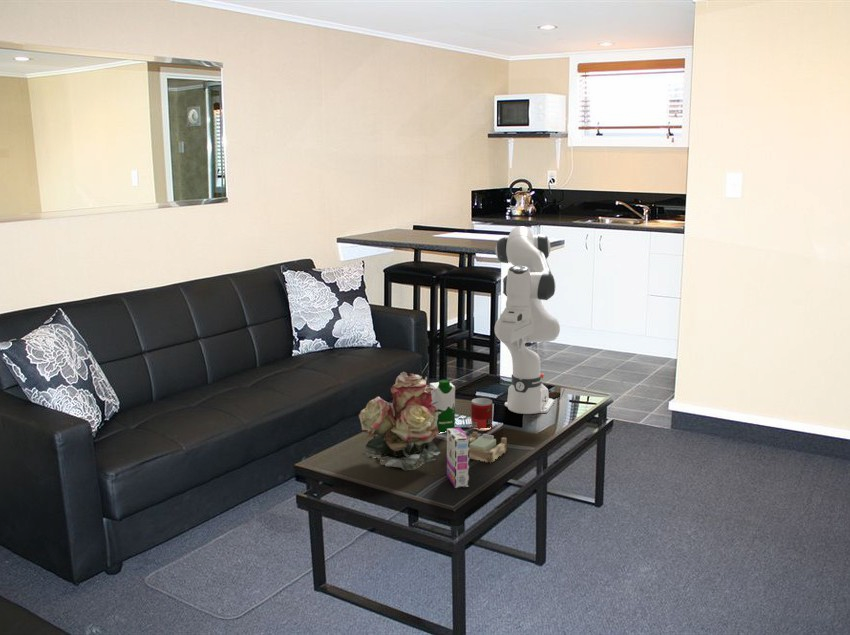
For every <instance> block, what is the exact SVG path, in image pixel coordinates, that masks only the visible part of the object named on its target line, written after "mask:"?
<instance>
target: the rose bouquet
mask: <svg viewBox="0 0 850 635" xmlns="http://www.w3.org/2000/svg"><path fill="white" fill-rule="evenodd" d="M427 380H428V376H425V378H423V376H422V375H419V374H414V373H407V372H405V371H402V372H400V374H399V375H398V376H397V377H396V378H395V383H394V384H393V385H392V386H389V389H390V392H391V395H392V402H388V401H386V400H384V399H383V398H381V397H380V396H376V397H375V398H373V399H371V400H369V401H368V402H367V403H366V406H365V407H364V408H363V409H362V410H360V413H358V418H359V420H360V421H359V422H360V425H361V432H363V433H366V434H368V435H367V436H366V437H367V438H368V437H369V438H371V439H370V440H368V442H367V443H366V444H365V449H364V452H363V453H364V454H363V455H366V454H367V455H366V456H368V454H374V455H381V456H383V455H382V454H391V455H390V456H392V458H391V457H382V458H379V459H382V460H385V462H387V463H386V464H385V466H384V467H394V468H401V469H402V470H403V471H406V470H407V469H413V470H416V469H419V468H420V467H421V466H423V465H425V464H426V463H428V462H431V461H437V458H433V457H434V456H439V454H441V451H439V448H438V446H437V445H436V444H435V443H434V441H433V440H435V438H436V437H437V436H438V435H440V434H439V431H438V429H437V420H438V415H439V412H438V411H437V410H436V407H435V406H433V405H434V404H436V403H437V402H435V403H431V402H432V401H434V400H433V398H432V393H431V391H432V390H434V387H430V385H428V384H427ZM434 391H435V390H434ZM422 450H423V451H422ZM417 451H420V452H417ZM413 452H416V453H413ZM421 452H422V453H421ZM417 453H419V454H417ZM396 455H397V456H396ZM400 455H401V456H400ZM408 455H409V456H408ZM404 456H406V457H404ZM396 457H399V458H396ZM375 458H376V457H373V458H372V459H375ZM379 459H378V460H379ZM417 462H419V463H422V464H423V465H422V464H420V466H418V467H417V468H416V467H413V466H412V465H416V464H417ZM413 470H412V471H413ZM406 472H407V471H406Z"/></svg>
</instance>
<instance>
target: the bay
mask: <svg viewBox="0 0 850 635" xmlns="http://www.w3.org/2000/svg"><path fill="white" fill-rule="evenodd" d="M478 438H479V431H473V432H471V436H470V437H469V439H470V443H472V442H473V441H475V440H476V439H478ZM507 441H508V440H507V437H501V438H500V443H499V444H496V447H494V448H493V449H491V450H490V451H486V450H481V449H477V448H472V447H469V460H470V459H471V460H476V461H479V460H480V461H479V462H484V461H485V462H484V463H488V462H490V463H489V464H492V463H493V462H495V461H496V460H497V459H499V458H500V457H502V456H503V455H502V454H503V453H504V454H505V453H507V452H506V451H507V450H508V449H507V447H508V446H507V445H508V444H507V443H508V442H507ZM499 456H500V457H499ZM498 457H499V458H498ZM495 459H496V460H495ZM491 462H492V463H491Z"/></svg>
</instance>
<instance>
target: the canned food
mask: <svg viewBox="0 0 850 635" xmlns="http://www.w3.org/2000/svg"><path fill="white" fill-rule="evenodd" d="M470 412H471V414H470V415H471V417H470V418H471V421H470V422H471V425H472V426H473V427H476V428H490V427H492V428H493V400H492V399H490V398H487V397H477V398H473V399H471V410H470ZM472 426H471V427H472Z"/></svg>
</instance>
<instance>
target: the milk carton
mask: <svg viewBox="0 0 850 635" xmlns="http://www.w3.org/2000/svg"><path fill="white" fill-rule="evenodd" d="M429 386H430V387H434V390H435V391H434V390H432V391H431V393H432V398H433V400H434V401H432V402H431V403H435V402H437V403H436V404H434V405H433V406H435V407H436V410H437V411H438V412H439V415H438V420H437V429H438V431H439V433H440V432H445V431H447V429H449V428H456V427H455V426H456V386H455V385H454V384H453V383H452V382H450V380H449V379H440V380H439V381H438V382H430V383H429Z"/></svg>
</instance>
